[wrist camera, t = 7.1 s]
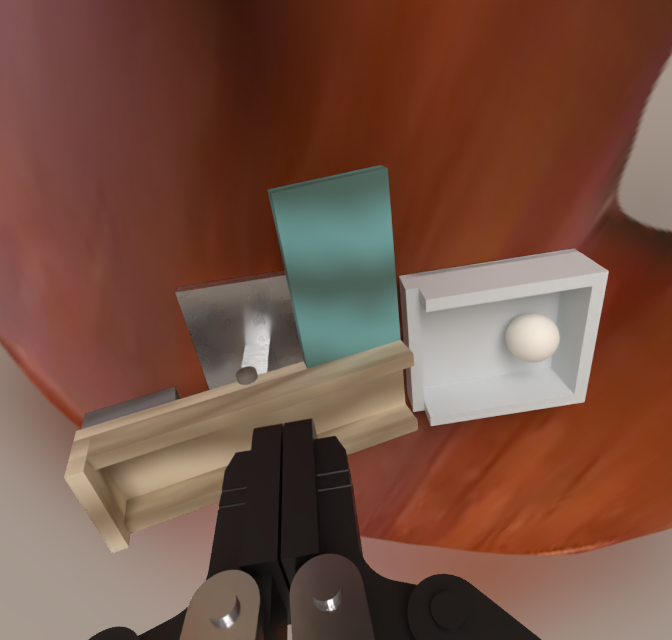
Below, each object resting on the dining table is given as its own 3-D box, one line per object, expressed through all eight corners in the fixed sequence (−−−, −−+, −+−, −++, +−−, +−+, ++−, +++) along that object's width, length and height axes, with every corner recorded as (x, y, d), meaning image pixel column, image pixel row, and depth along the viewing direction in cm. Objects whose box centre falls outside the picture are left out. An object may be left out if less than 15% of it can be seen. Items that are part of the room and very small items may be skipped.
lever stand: (178, 286, 34) (157, 326, 29) (307, 266, 34) (308, 302, 29) (230, 438, 42) (221, 490, 37) (335, 421, 42) (340, 471, 37)
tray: (398, 276, 35) (411, 302, 31) (574, 248, 35) (608, 271, 31) (407, 393, 41) (418, 427, 37) (557, 370, 41) (584, 402, 37)
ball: (573, 323, 33) (544, 300, 37) (523, 333, 33) (497, 309, 37) (567, 366, 35) (539, 340, 39) (519, 376, 35) (495, 349, 39)
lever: (-11, 239, 24) (-61, 282, 19) (365, 159, 29) (411, 176, 24) (123, 483, 34) (115, 558, 29) (388, 393, 39) (424, 443, 33)
